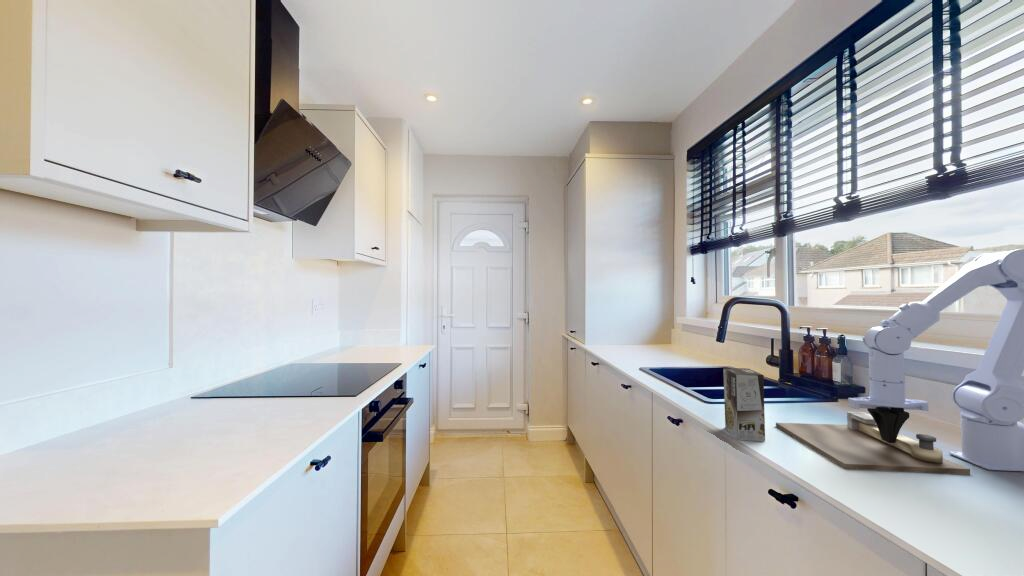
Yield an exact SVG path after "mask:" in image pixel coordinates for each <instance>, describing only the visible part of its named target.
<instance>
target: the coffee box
mask: <svg viewBox="0 0 1024 576" xmlns="http://www.w3.org/2000/svg"><path fill="white" fill-rule="evenodd" d="M764 377H765V375H764V374H762V373H760V372H757V371H755V370H753V369H750V368H748V367H747V368H743V367H742V368H741V367H739V368H738V367H737V368H736V367H734V368H723V395H724V396H723V398H724V400H723V401H724V423H725V424H724V425H725V426H724V427H725V428H724V429H726V430H727V431H728V432H729V433H730V434H731V435H732V436H733V437H735V439H737V440H738V441H750V442H752V441H753V442H762V441H763V442H765V441H766V419H765V417H766V416H765V384H764V383H765V382H764V379H765V378H764Z"/></svg>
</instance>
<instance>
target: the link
mask: <svg viewBox="0 0 1024 576" xmlns="http://www.w3.org/2000/svg"><path fill="white" fill-rule="evenodd" d="M859 430H860V431H862V432H864V433H866V434H868V435H870V436H873V437H875V438H877V439H879V440H881V441H884V440H882V438H881V435H880V432H879V429H878V427H877V424H869V423H863V422H859ZM915 438H916V439H917V440H915V439H913V438H910V437H908V436H905V435H903V434H900V432H899V433H898V436H897V439H896V442H895V443H888V442H886V441H884V442H886V443H888V444H890V445H892V446H894V447H897V448H899V449H901V450H903V451H905V452H907V453H910V454H911V455H912V456H913V457H915V458H917V459H920V460H924V461H929V462H936V463H940V462H943V458H944V456H943V455H944V454H943V453H944V452H943V450H942V449H941V448H938V447H935V446H934V443H936V442H937V437H935V436H934V435H933V436H932V435H929V434H925V433H924V434H922V433H916V434H915Z"/></svg>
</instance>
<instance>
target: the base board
mask: <svg viewBox="0 0 1024 576" xmlns="http://www.w3.org/2000/svg"><path fill="white" fill-rule="evenodd" d="M846 419H847V423H846V424H832V423H831V424H830V423H829V424H828V423H798V422H797V423H796V422H794V423H793V422H775V428H778V429H780V430H781V431H782V432H785V433H786V434H787V435H789V436H791V437H793V438H794V439H795V440H797V441H799V442H800V443H803V444H804V445H806V446H807V447H808V448H810V449H812V450H814V451H815V452H817V453H818V454H820V455H821V456H823V457H825V458H827V459H828V460H830V461H831V462H833V463H835V464H836V465H838V466H839V467H841V468H842V469H846V470H868V471H887V472H889V471H890V472H891V471H892V472H909V473H910V472H913V473H914V472H915V473H929V474H930V473H932V474H933V473H934V474H936V473H937V474H951V475H952V474H955V475H956V474H957V475H971V469H970V468H968V467H966V466H963V465H961V464H959V463H957V462H955V461H951V460H949V459H947V458H945V457H943V462H940V463H936V462H929V461H924V460H920V459H917V458H915V457H913V456H912V455H911V454H910V453H907V452H905V451H903V450H901V449H899V448H897V447H894V446H892V445H890V444H888V443H886V442H884V441H881V440H879V439H877V438H875V437H873V436H870V435H868V434H866V433H864V432H862V431H860V430H859V422H863V423H869V424H876V422H875V421H874V419H873V417H872V416H871V414H870V413H869V412H865V411H846Z"/></svg>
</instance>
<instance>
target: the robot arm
mask: <svg viewBox="0 0 1024 576" xmlns="http://www.w3.org/2000/svg"><path fill="white" fill-rule="evenodd" d="M986 286H990V287H992V288H994V289H995V290H997V291H998V292H999V293H1000V294H1001V295H1002V296H1003V297H1004V298H1005V299H1006V302H1005V305H1004V308H1003V309H1002V311H1001V314H1000V316H999V319H998V321H997V324H996V326H995V329H994V331H993V333H992V335H991V338H990V339H989V342H988V344H987V346H986V349H985V352H984V354H983V356H982V358H981V360H980V363H979V365H978V367H977V369H976V370H974V371H972V372H970V373H968V374H966V375H965V376H964V379H963V380H962V382H961V383H960V384H958V385H957V386H955V387H954V388H953V389H952V391H951V400H952V402H953V403H954V405H956V406H957V407H958V408H959V410H960V411H959V412H960V434H961V435H960V437H961V439H960V440H961V451H948V454H950V455H952V456H954V457H956V458H959V459H961V460H964V461H967V462H968V463H971V464H974V465H976V466H978V467H980V468H982V469H985V470H991V471H1007V472H1008V471H1009V472H1010V471H1012V472H1024V422H1023V423H1022V420H1023V419H1024V386H1023V384H1022V383H1021V381H1020V378H1021V377H1022V374H1023V372H1024V248H1020V249H1015V250H1009V251H1000V252H988V253H983V254H980V255H978V256H976V257H975V258H974V259H973V260H972V261H970V262H968V263H966V264H963V266H962V267H961V269H960V270H959V271H957V272H956V273H955V274H954V275H953V276H951V277H950V278H949V279H947V280H946V282H944V283H942V285H940V286H939V287H938V288H936V289H935V290H934V291H933V292H932V293H931V294H929V295H928V296H927V297H925V299H923V300H922V301H911V302H909V303H902V304H901V305H899V307H898V309H899V310H898V311H897V312H895V313H894V314H893V315H891V316H890V317H888V319H882V320H880V322H879V324H880V326H873V327H871V328H869V329H868V330H867V331H866V332H865V335H864V336H863V337H862V342H863V345H864V346H865V347H866V348H868V380H869V381H868V383H869V384H868V385H869V396H864V397H862V396H861V397H848V398H847V400H848V402H847V403H848V404H847V405H848V407H850V408H852V409H855V410H859V409H867V412H868V414H870V415H871V416H872V417H873V419H874V421H875V422H876V424H877V427H878V429H879V432H880V435H881V438H882V440H884V441H886V442H888V443H895V442H896V439H897V436H898V433H899V434H900V431H901V428H902V427H903V425H904V424H905V423H906V421H907V420H908V419H909V418H910V412H908V411H905V410H909V411H911V410H913V411H914V410H915V411H916V410H917V411H923V412H929V401H925V400H921V399H912V398H911V399H909V398H906V377H905V376H906V374H905V372H906V371H905V352H906V351H908V350H909V349H910V348H911V346H912V341H913V340H914V339H916V338H917V337H919V336H920V335H921V334H922V333H924V332H925V331H927V330H928V329H930V328H931V327H932V326H934V325H935V324H936V323H938V322H939V321H940V319H941V317H940V315H941V314H940V313H941V312H942V311H943V310H945V309H946V308H948V307H949V306H951V305H952V304H955V303H956V302H957V301H959V300H960V299H962V298H964V297H965V296H966V295H968V294H970V293H971V292H972V291H975V290H976V289H978V288H979V287H980V288H981V287H986Z"/></svg>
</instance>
